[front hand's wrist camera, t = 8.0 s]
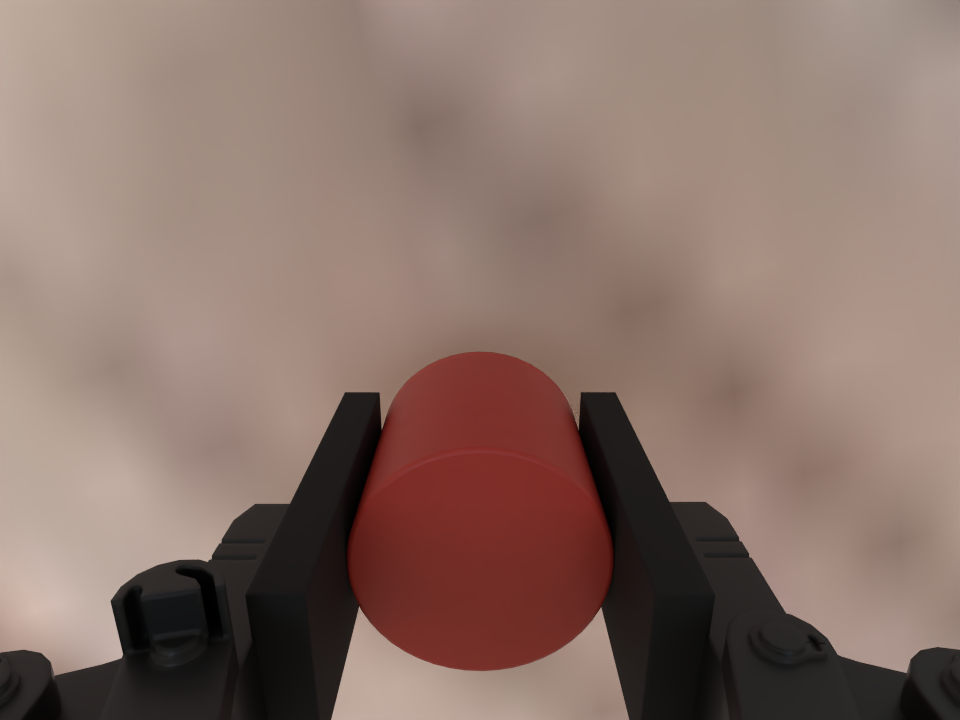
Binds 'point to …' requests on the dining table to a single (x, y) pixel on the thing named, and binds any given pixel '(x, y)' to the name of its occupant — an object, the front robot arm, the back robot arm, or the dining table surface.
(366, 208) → the dining table surface
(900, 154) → the dining table surface
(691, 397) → the dining table surface
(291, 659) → the front robot arm
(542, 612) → the canister
